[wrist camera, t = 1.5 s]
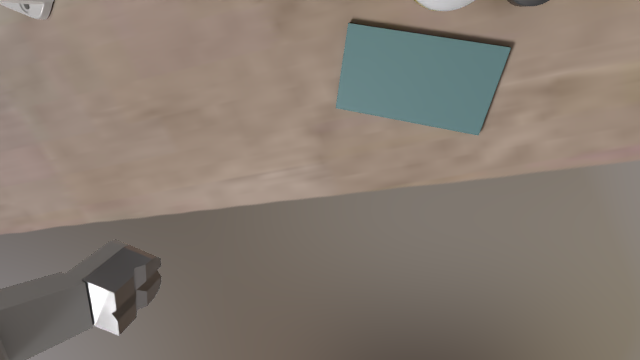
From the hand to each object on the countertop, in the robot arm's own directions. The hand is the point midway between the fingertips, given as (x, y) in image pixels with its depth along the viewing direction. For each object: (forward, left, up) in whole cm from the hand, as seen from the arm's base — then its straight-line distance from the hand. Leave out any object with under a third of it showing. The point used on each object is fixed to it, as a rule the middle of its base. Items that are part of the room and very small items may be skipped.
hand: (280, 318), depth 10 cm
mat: (+4, +2, -32) cm, 32 cm away
